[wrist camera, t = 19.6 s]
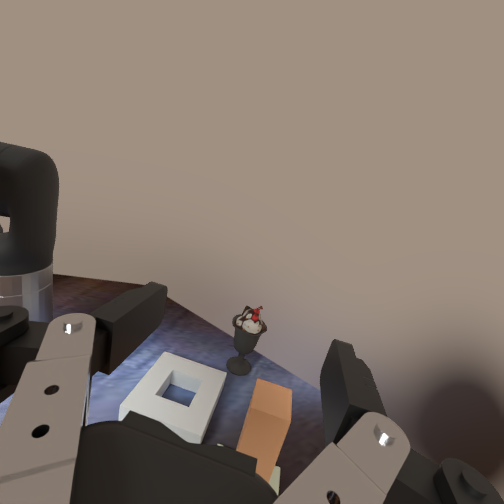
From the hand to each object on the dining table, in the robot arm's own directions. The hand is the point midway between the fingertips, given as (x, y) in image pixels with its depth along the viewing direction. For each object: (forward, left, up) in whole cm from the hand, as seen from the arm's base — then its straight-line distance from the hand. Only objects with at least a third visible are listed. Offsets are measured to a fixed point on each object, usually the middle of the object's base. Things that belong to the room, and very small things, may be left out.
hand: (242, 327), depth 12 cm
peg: (0, +12, -29) cm, 32 cm away
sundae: (-13, +30, -30) cm, 44 cm away
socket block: (-15, +16, -30) cm, 37 cm away
